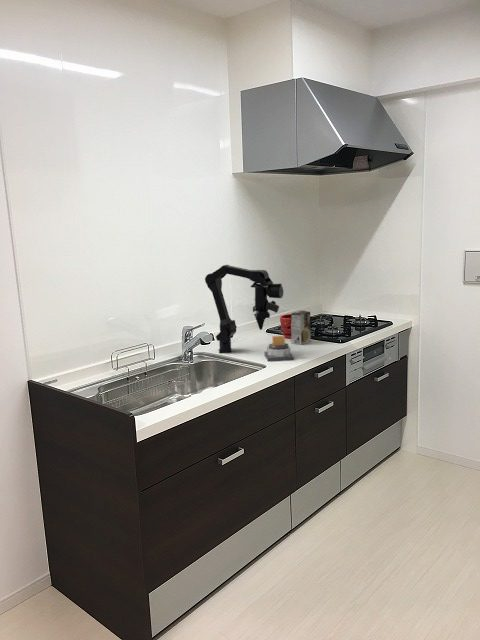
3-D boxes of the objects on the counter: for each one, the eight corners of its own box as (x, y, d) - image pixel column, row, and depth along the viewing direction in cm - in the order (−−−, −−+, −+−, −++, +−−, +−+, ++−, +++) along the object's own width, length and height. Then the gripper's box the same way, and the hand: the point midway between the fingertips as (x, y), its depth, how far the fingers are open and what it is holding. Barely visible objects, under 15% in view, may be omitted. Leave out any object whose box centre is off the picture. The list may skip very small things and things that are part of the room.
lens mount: (264, 354, 259) (264, 344, 258) (289, 353, 260) (289, 343, 259) (267, 361, 247) (267, 350, 246) (293, 359, 248) (293, 349, 247)
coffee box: (300, 340, 287) (300, 310, 284) (311, 341, 283) (310, 311, 280) (291, 343, 280) (290, 313, 277) (301, 345, 276) (301, 314, 273)
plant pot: (283, 334, 303) (283, 313, 301) (307, 335, 299) (306, 313, 296) (277, 339, 291) (277, 317, 289) (301, 340, 287) (301, 318, 284)
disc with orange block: (267, 349, 257) (267, 334, 256) (286, 348, 258) (286, 333, 257) (270, 353, 248) (270, 339, 247) (289, 352, 249) (289, 338, 248)
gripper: (280, 299, 247) (280, 333, 250) (275, 293, 265) (274, 325, 268) (256, 300, 246) (256, 333, 249) (252, 294, 264) (252, 325, 267)
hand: (260, 329), depth 258 cm, fingers closed
